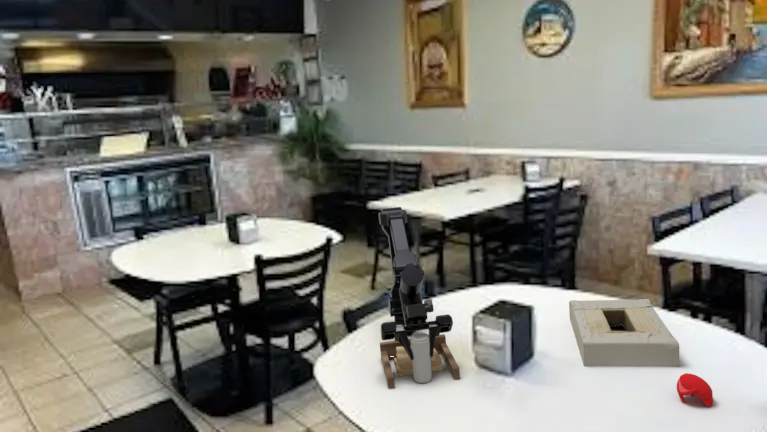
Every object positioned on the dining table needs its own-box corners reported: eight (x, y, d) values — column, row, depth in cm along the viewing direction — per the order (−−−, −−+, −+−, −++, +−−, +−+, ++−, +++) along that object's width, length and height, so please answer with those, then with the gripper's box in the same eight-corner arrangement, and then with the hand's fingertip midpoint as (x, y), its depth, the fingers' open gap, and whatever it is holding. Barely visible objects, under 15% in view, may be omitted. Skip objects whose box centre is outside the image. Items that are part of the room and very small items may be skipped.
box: (681, 369, 148) (648, 319, 179) (681, 340, 147) (648, 295, 177) (584, 371, 153) (568, 321, 184) (583, 343, 151) (567, 298, 182)
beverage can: (410, 382, 153) (407, 339, 151) (418, 374, 157) (414, 331, 155) (427, 385, 151) (424, 341, 148) (435, 376, 155) (431, 333, 152)
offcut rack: (381, 359, 168) (379, 342, 167) (445, 350, 170) (444, 334, 169) (388, 388, 151) (386, 370, 150) (460, 378, 153) (458, 360, 152)
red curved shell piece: (667, 387, 133) (689, 383, 128) (676, 370, 137) (698, 365, 132) (691, 415, 133) (714, 412, 128) (700, 396, 136) (723, 393, 131)
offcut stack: (394, 362, 165) (392, 347, 164) (436, 356, 166) (435, 341, 165) (398, 376, 157) (396, 360, 156) (442, 370, 158) (441, 354, 157)
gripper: (377, 293, 152) (386, 351, 144) (448, 285, 154) (461, 341, 145) (377, 312, 162) (385, 367, 153) (444, 303, 163) (456, 357, 155)
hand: (422, 358), depth 151 cm, fingers closed on beverage can, 5 cm apart
